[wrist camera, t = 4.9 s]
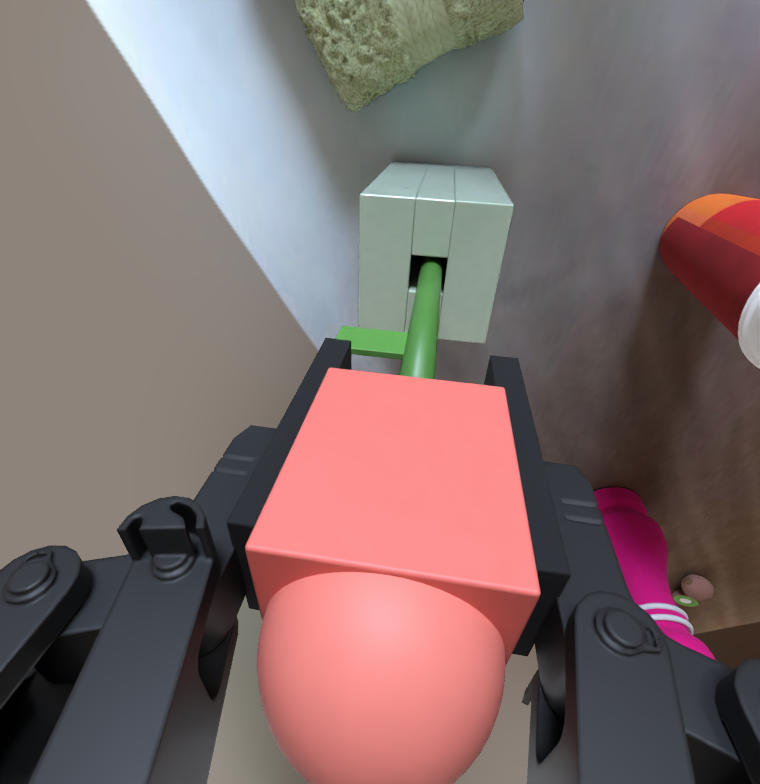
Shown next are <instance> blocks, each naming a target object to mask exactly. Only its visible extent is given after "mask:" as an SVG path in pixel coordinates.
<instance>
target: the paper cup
mask: <svg viewBox="0 0 760 784" xmlns="http://www.w3.org/2000/svg"><path fill="white" fill-rule="evenodd" d="M659 251H660V256H661V258H662V261H663V262H664V264H665V265H666V267H667V268H668V269H669V270H670V271H671V272H672V273H673V274H674V276H675V277H676V278H677V279H678V280H679V281H680V282H681V283H682V284H683V285H684V286H685V287H686V288H687V289H688V290H689V291H690V292H691V293H692V294H693V295H694V296H695V297H696V298H697V299H698V300H699V301H700V302H701V303H702V304H703V305H704V306H705V307H706V308H707V309H708V310H709V311H710V312H711V313H712V314H713V315H714V316H715V317H716V318H717V319H718V320H719V321H720V322H721V323H722V324H723V325H724V326H725V327H726V328H727V329H728V330H729V331H730V332H731V333H732V334H733V335H734V336H735V337H736V338H737V339H738V340H739V345H740V347H741V350H742V352H743V353H744V355H745V356H746V358H747V359H748V360H749V361H750V362H751V363H752V364H754V365H755V366H756V367H758V368H760V199H755V198H750V197H744V196H738V195H731V194H712V195H707V196H704V197H701V198H698V199H696V200H694V201H692V202H690V203H689V204H687V205H685V206H684V207H683V208H681V209H680V210H679V211H678V212H677V213H676V214H675V215H674V216H673V217H672V218H671V219H670V221H669V222H668V223H667V225H666V227H665V229H664V230H663V233H662V235H661V239H660V244H659Z"/></svg>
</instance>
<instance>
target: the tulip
mask: <svg viewBox="0 0 760 784" xmlns="http://www.w3.org/2000/svg"><path fill="white" fill-rule="evenodd" d="M442 267H443V258H441V257H429V256H423V259H422V264H421V269H420V274H419V279H418V284H417V289H416V294H415V299H414V304H413V309H412V314H411V319H410V324H409V329H408V333H406V332H396V331H387V330H377V329H367V328H358V327H348V326H342V327H341V329H340V331H339V333H338V335H337V337H336V339H341V340H350V341H351V354H355V355H364V356H373V357H382V358H391V359H401V360H402V364H401V369H400V374H399V375H391V374H383V373H374V372H365V371H356V370H347V369H339V368H329V369H328V371H327V373H326V375H325V377H324V379H323V381H322V384H321V386H320V388H319V390H318V392H317V394H316V396H315V399H314V401H313V403H312V405H311V407H310V409H309V411H308V413H307V416H306V418H305V420H304V422H303V424H302V426H301V428H300V430H299V433H298V435H297V437H296V439H295V441H294V443H293V445H292V448H291V450H290V452H289V454H288V456H287V458H286V460H285V462H284V465H283V467H282V469H281V471H280V473H279V475H278V477H277V480H276V482H275V484H274V486H273V488H272V490H271V492H270V494H269V497H268V499H267V501H266V503H265V505H264V507H263V509H262V511H261V514H260V516H259V518H258V520H257V522H256V524H255V526H254V529H253V531H252V533H251V535H250V537H249V539H248V541H247V543H246V546H245V551H246V555H247V559H248V564H249V568H250V572H251V576H252V580H253V584H254V588H255V592H256V596H257V601H258V605H259V609H260V613H261V617H262V626H261V631H260V637H259V643H258V654H257V674H258V686H259V692H260V697H261V702H262V707H263V711H264V714H265V717H266V719H267V722H268V725H269V728H270V730H271V732H272V734H273V736H274V738H275V740H276V742H277V744H278V746H279V748H280V750H281V751H282V753H283V754H284V755H285V757H286V758H287V760H288V761H289V763H290V764H291V765H292V767H293V768H294V769H295V770H296V771H297V772H298V773H299V774H300V775H301V776H302V777H303V778H304V779H305V780H306V781H307V782H308V783H309V784H453V783H454V782H455V781H457V780H458V778H459V777H461V776H462V775H463V774H464V773H465V772H466V771H467V769H468V768H469V767H470V765H471V764H472V763H473V762H474V760H475V759H476V758H477V756H478V755H479V754H480V753H481V751H482V749H483V747H484V745H485V743H486V742H487V740H488V738H489V736H490V734H491V731H492V728H493V726H494V723H495V720H496V718H497V715H498V712H499V708H500V704H501V700H502V696H503V689H504V679H505V666H506V664H507V662H508V660H509V658H510V656H511V654H512V652H513V650H514V648H515V646H516V644H517V642H518V640H519V638H520V636H521V634H522V632H523V630H524V628H525V625H526V623H527V621H528V619H529V617H530V615H531V613H532V611H533V609H534V607H535V605H536V603H537V601H538V599H539V597H540V594H541V592H540V586H539V580H538V575H537V569H536V563H535V558H534V552H533V546H532V541H531V535H530V529H529V523H528V518H527V512H526V506H525V501H524V495H523V489H522V484H521V478H520V472H519V466H518V461H517V455H516V449H515V444H514V438H513V432H512V427H511V421H510V415H509V410H508V404H507V398H506V392H505V388H503V387H497V386H488V385H480V384H471V383H462V382H453V381H444V380H436V379H435V365H436V351H437V337H438V323H439V309H440V295H441V281H442Z"/></svg>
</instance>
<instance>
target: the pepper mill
mask: <svg viewBox="0 0 760 784" xmlns="http://www.w3.org/2000/svg"><path fill="white" fill-rule="evenodd" d="M594 494H595V497H596V500H597V503H598V508H600V511H601V514H602V517H603V519H604V525H605V526H606V528H607V531H608V533H609V536H610V539H611V542H612V545H613V548H614V550H615V553H616V556H617V559H618V562H619V564H620V567H621V570H622V573H623V576H624V578H625V581H626V584H627V587H628V590H629V592H630V594H631V596H632V598H633V600H634V602H635V603H636V604H637V605H639V606H640V607H641V608H642V609H643V610H645V611H646V612H647V613H648V614H650V616H651V617H652V618H653V620H654V621H655V622H656V624H657V625H658V626H659V628H660V629H661V630H662V632H663V633H664V634H665V635H667V636H668V637H669V638H671V639H673V640H675V641H676V642H678V643H680V644H682V645H684V646H686V647H688V648H690V649H692V650H695V651H697V652H699V653H701V654H703V655H705V656H708V657H710V658H712V659H714V660H715V658H714V656H713V654H712V653H711V651H710V650H709V648H708V647H707V646H706V645H705V644H704V643H703V642H702V641H700V640H699V639H697V638H696V637H694V636H693V632H694V630H693V627H692V625H691V624H690V623H689V621H688V616H687V614H686V613H685V612H684V611H683V610H682V609H680V608H678V607H677V605H676V603H675V601H674V600H673V597H672V594H671V591H670V588H669V585H668V579H667V559H668V550H667V543H666V540H665V537H664V534H663V532H662V529H661V528H660V526H659V525H658V523H657V522H656V521H655V520H653V519H652V518H651V517H649V516H648V514H647V510H646V508H645V506H644V504H643V502H642V500H641V498H640V497H639V495H637V494H636V493H635V492H633V491H631V490H628V489H626V488H620V487H608V488H603V489H599V490H597V491H594Z"/></svg>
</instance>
